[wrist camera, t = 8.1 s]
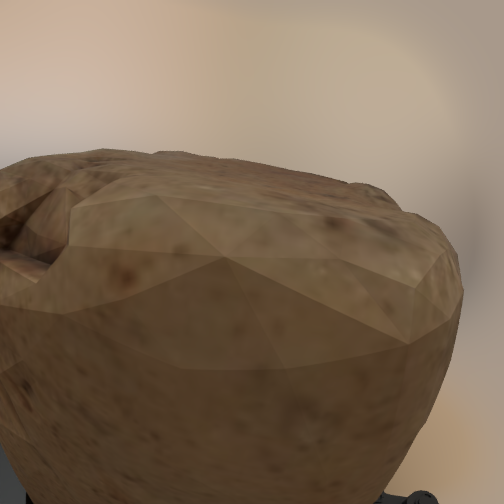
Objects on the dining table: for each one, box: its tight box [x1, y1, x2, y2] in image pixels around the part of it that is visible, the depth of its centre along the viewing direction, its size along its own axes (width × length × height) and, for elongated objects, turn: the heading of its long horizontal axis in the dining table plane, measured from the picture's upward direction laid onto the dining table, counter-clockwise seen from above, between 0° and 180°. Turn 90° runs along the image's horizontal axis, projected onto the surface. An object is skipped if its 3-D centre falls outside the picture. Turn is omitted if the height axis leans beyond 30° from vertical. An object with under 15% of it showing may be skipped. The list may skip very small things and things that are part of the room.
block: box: [0, 149, 464, 504], centre depth 9 cm, size 11×8×20 cm
